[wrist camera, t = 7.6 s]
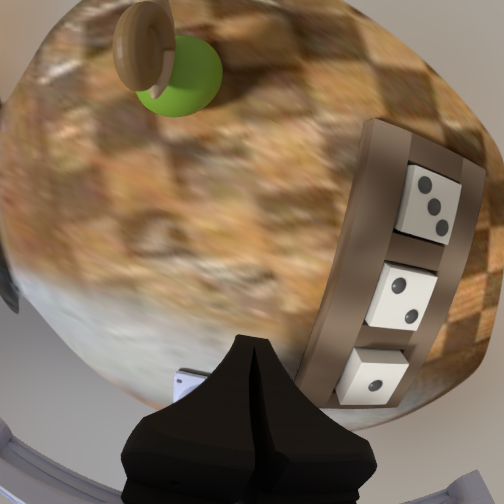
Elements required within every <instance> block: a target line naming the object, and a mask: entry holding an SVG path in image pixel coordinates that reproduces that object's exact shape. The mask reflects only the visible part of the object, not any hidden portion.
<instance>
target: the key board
mask: <svg viewBox="0 0 504 504" xmlns="http://www.w3.org/2000/svg"><path fill="white" fill-rule="evenodd" d="M407 165H416V166H419V167H421V168H424V169H426V170H429V171H431V172H433V173H436V174H438V175H440V176H443V177H445V178H447V179H449V180H451V181H454V182H456V183H458V184H460V185H462V186H461V192H460V197H459V202H458V207H457V211H456V216H455V220H454V224H453V228H452V232H451V236H450V239H449V243H448V245H446V244H443V243H439V242H436V241H433V240H432V241H429V240H426V239H423V238H419V237H416V236H412V235H408V234H405V233H401V232H397V231H394V230H393V227H394V224H395V220H396V215H397V211H398V207H399V203H400V198H401V194H402V189H403V184H404V179H405V174H406V168H407ZM485 177H486V170H484V169H483V168H481V167H479V166H478V165H476V164H474V163H472V162H471V161H469V160H467V159H465V158H463V157H462V156H460V155H458V154H456V153H454V152H452V151H450V150H448V149H446V148H444V147H442V146H440V145H438V144H436V143H434V142H432V141H430V140H427V139H425V138H423V137H421V136H418V135H416V134H414V133H411V132H409V131H407V130H404V129H402V128H399V127H397V126H394V125H392V124H389V123H387V122H384V121H381V120H378V119H376V118H373V119H371V120H369V121H366V122H364V124H363V130H362V136H361V142H360V147H359V153H358V158H357V163H356V169H355V174H354V178H353V183H352V188H351V193H350V197H349V202H348V206H347V210H346V215H345V219H344V223H343V227H342V231H341V235H340V239H339V243H338V246H337V250H336V254H335V258H334V261H333V265H332V268H331V272H330V276H329V279H328V282H327V286H326V289H325V292H324V296H323V299H322V302H321V305H320V309H319V312H318V315H317V318H316V321H315V324H314V327H313V330H312V333H311V336H310V339H309V342H308V345H307V348H306V351H305V353H304V356H303V359H302V362H301V364H300V367H299V370H298V373H297V375H296V378H295V380H294V383H295V384H296V386H297V387H298V388H299V389H300V391H301V392H302V393H303V394H304V395H305V396H306V397H307V398H308V399H309V400H310V401H311V402H312V403H313V404H314V405H315V406H316V407H317V408H332V409H370V408H392V407H397V406H398V405H399V403H400V402H401V400H402V399H403V397H404V395H405V394H406V392H407V391H408V389H409V387H410V386H411V384H412V382H413V381H414V379H415V377H416V375H417V374H418V372H419V370H420V368H421V366H422V365H423V363H424V361H425V359H426V357H427V355H428V353H429V351H430V349H431V347H432V345H433V343H434V341H435V339H436V337H437V335H438V333H439V331H440V329H441V326H442V324H443V322H444V320H445V317H446V315H447V313H448V310H449V308H450V305H451V303H452V300H453V298H454V295H455V293H456V290H457V287H458V285H459V282H460V279H461V276H462V273H463V270H464V267H465V264H466V261H467V258H468V254H469V251H470V247H471V244H472V240H473V236H474V232H475V228H476V224H477V220H478V216H479V211H480V206H481V201H482V196H483V190H484V184H485ZM384 260H389V261H393V262H398V263H402V264H407V265H411V266H416V267H420V268H425V269H426V270H428V271H429V272H431V273H432V274H434V275H435V276H436V277H438V278H437V281H436V284H435V287H434V289H433V292H432V295H431V297H430V300H429V302H428V305H427V308H426V310H425V312H424V315H423V317H422V320H421V322H420V324H419V326H418V329H417V331H414V330H403V329H392V328H382V327H373V326H369V325H368V323H367V322H366V320H365V319H364V318H365V316H366V313H367V310H368V307H369V305H370V302H371V299H372V296H373V293H374V291H375V288H376V285H377V282H378V279H379V276H380V272H381V269H382V266H383V263H384ZM353 346H358V347H370V348H385V349H399V350H400V351H401V353H402V354H403V356H404V357H405V359H406V360H407V362H408V363H409V366H408V368H407V369H406V371H405V373H404V375H403V377H402V378H401V380H400V382H399V384H398V385H397V387H396V389H395V390H394V392H393V394H392V395H391V397H390V399H389V400H388V402H387V403H386V404H379V405H340V403H339V399H338V396H337V393H336V390H335V385H336V383H337V381H338V379H339V377H340V375H341V373H342V371H343V368H344V366H345V364H346V362H347V359H348V357H349V355H350V353H351V350H352V348H353Z"/></svg>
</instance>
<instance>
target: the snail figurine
mask: <svg viewBox="0 0 504 504" xmlns="http://www.w3.org/2000/svg"><path fill="white" fill-rule="evenodd" d="M113 59H114V63H115V67H116V70H117V73H118V75H119V77H120V79H121V81H122V82H123V83H124V85H125V86H127V87H128V88H129V89H131V90H133V91H136V94H137V96H138V98H139V99H140V101H141V102H142V103H143V104H144V105H145V106H146V107H147V108H148V109H149V110H151V111H152V112H154V113H156V114H159V115H162V116H167V117H182V116H187V115H190V114H193V113H195V112H197V111H199V110H201V109H203V108H204V107H205V106H207V105H208V104H209V103H210V102H211V101H212V100H213V98H214V97H215V96H216V94H217V92H218V90H219V88H220V86H221V82H222V77H223V69H222V63H221V60H220V58H219V56H218V54H217V53H216V51H215V50H214V49H213V48H212V47H211V46H210V45H209V44H208V43H206V42H205V41H203V40H201V39H199V38H196V37H192V36H185V35H179V36H175V34H174V20H173V17H172V13H171V8H170V5H169V1H168V0H140V2H138V3H136V4H134V5H132V6H130V7H129V8H128V9H127V10H126V11H125V12H124V13H123V14H122V16H121V17H120V19H119V21H118V23H117V26H116V29H115V32H114V38H113Z"/></svg>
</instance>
